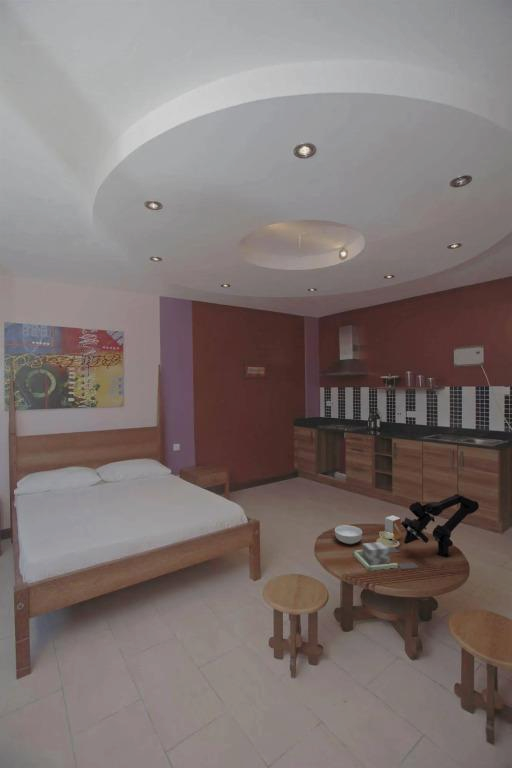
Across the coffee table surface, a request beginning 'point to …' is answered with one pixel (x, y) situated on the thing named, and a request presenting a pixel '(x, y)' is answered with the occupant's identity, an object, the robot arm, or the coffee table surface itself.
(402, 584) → the coffee table surface
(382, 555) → the block
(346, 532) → the cereal bowl
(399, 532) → the small box
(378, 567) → the green u-shaped guide frame
